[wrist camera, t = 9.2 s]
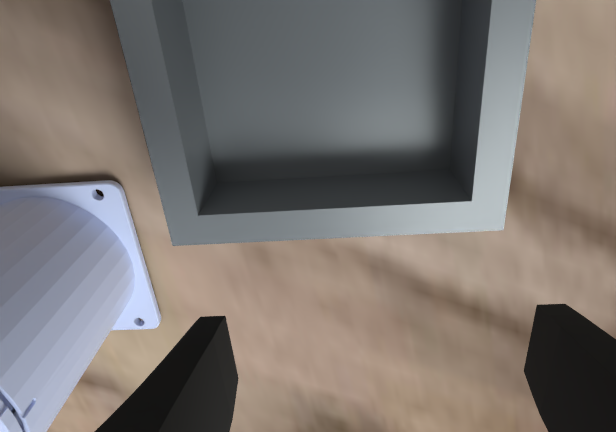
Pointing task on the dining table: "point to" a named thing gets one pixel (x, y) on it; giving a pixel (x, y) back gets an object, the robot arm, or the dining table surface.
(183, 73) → the case
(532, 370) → the robot arm
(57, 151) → the dining table surface
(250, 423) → the dining table surface
